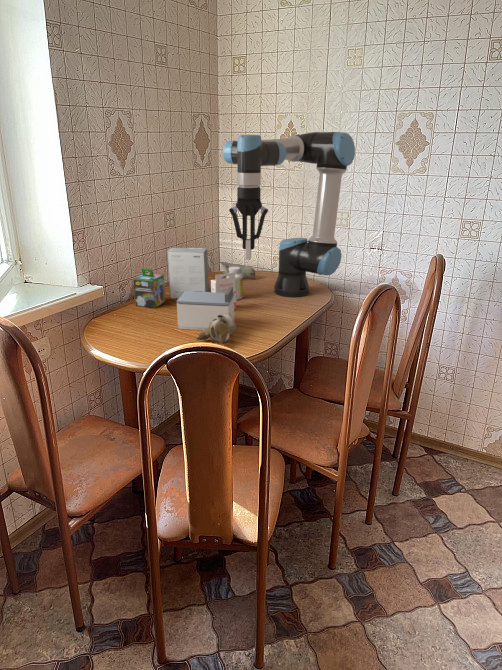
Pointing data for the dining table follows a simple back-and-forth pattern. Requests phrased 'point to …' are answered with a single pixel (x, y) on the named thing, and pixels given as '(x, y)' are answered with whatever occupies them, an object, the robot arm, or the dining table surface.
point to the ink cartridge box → (224, 284)
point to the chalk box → (149, 289)
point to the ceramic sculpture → (219, 329)
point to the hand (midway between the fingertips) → (248, 258)
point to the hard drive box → (187, 270)
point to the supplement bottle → (237, 281)
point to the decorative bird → (244, 270)
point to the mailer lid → (207, 297)
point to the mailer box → (200, 314)
